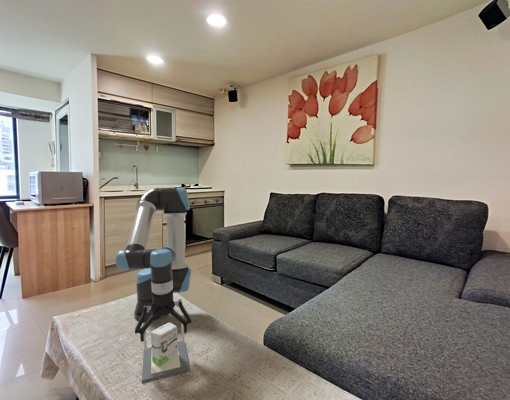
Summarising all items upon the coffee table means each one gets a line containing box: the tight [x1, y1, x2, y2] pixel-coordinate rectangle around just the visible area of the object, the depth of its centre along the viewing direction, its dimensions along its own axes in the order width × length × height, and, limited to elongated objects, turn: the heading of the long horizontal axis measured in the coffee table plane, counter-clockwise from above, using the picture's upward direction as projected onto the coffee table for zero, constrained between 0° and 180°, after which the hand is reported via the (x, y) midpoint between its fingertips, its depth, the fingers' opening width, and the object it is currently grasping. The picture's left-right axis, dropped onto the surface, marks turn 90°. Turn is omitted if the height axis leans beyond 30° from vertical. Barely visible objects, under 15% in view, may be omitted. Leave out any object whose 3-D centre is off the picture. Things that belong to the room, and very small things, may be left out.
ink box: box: [150, 322, 179, 366], centre depth 103 cm, size 9×5×12 cm, turn 143°
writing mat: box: [141, 340, 190, 383], centre depth 104 cm, size 18×16×1 cm
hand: (164, 344), depth 103 cm, fingers open, 13 cm apart
